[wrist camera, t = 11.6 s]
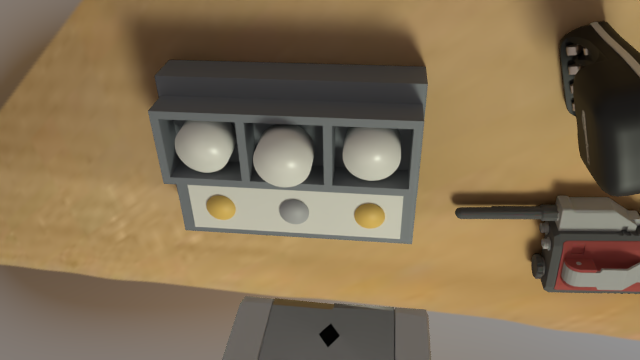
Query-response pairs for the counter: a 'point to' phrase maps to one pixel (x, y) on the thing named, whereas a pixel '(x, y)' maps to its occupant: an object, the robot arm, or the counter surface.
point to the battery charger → (604, 104)
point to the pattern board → (318, 121)
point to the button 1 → (205, 144)
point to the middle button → (284, 155)
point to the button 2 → (372, 152)
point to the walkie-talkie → (579, 243)
